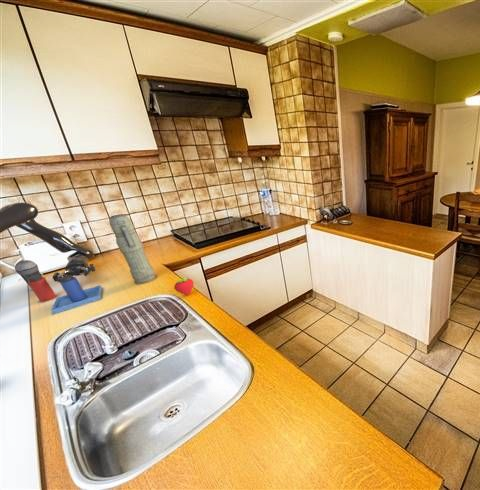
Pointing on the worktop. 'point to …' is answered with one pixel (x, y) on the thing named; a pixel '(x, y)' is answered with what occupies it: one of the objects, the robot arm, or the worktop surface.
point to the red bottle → (41, 288)
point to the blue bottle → (73, 288)
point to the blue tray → (65, 302)
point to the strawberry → (184, 286)
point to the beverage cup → (26, 269)
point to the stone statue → (131, 249)
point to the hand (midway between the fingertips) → (72, 277)
